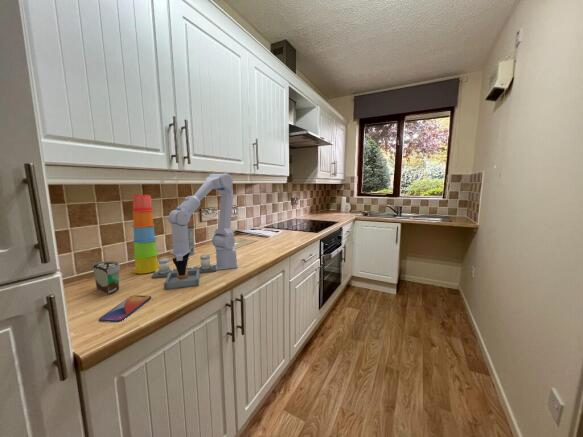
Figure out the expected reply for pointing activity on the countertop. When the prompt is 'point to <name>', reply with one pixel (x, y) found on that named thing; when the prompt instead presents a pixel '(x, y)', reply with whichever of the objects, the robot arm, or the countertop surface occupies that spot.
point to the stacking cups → (144, 235)
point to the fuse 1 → (164, 266)
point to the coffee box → (191, 240)
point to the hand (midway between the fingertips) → (182, 272)
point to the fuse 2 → (205, 262)
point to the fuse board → (212, 269)
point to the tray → (173, 281)
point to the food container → (107, 276)
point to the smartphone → (125, 308)
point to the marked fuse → (183, 277)
